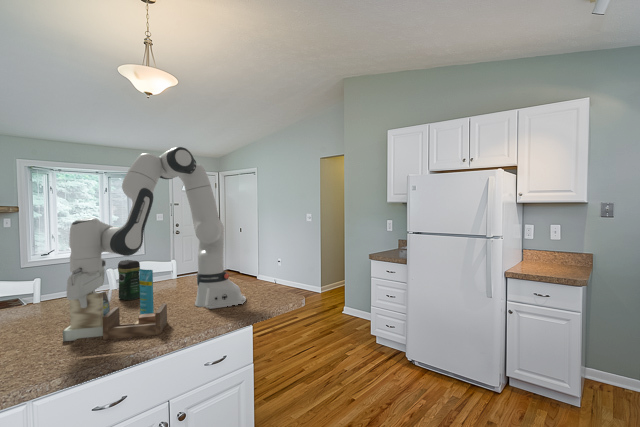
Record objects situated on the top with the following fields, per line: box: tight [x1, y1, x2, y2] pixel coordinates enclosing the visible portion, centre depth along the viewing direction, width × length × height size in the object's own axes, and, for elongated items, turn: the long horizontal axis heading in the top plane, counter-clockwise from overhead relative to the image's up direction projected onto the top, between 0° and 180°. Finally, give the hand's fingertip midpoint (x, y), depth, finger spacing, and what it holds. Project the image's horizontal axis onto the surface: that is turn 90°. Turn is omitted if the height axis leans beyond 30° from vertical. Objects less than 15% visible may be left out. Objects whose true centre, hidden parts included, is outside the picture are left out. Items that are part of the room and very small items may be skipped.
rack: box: [102, 302, 168, 340], centre depth 117 cm, size 18×11×8 cm, turn 104°
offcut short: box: [138, 312, 156, 324], centre depth 120 cm, size 6×4×2 cm
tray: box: [62, 325, 103, 342], centre depth 114 cm, size 12×6×4 cm, turn 104°
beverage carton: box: [101, 291, 111, 316], centre depth 140 cm, size 8×19×7 cm, turn 36°
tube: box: [139, 268, 155, 316], centre depth 133 cm, size 7×5×19 cm, turn 72°
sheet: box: [69, 292, 103, 329], centre depth 114 cm, size 9×2×12 cm, turn 104°
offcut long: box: [134, 320, 156, 325], centre depth 120 cm, size 7×4×2 cm, turn 104°
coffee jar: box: [117, 259, 141, 301], centre depth 159 cm, size 10×8×19 cm
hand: (87, 305), depth 113 cm, fingers closed on sheet, 2 cm apart
